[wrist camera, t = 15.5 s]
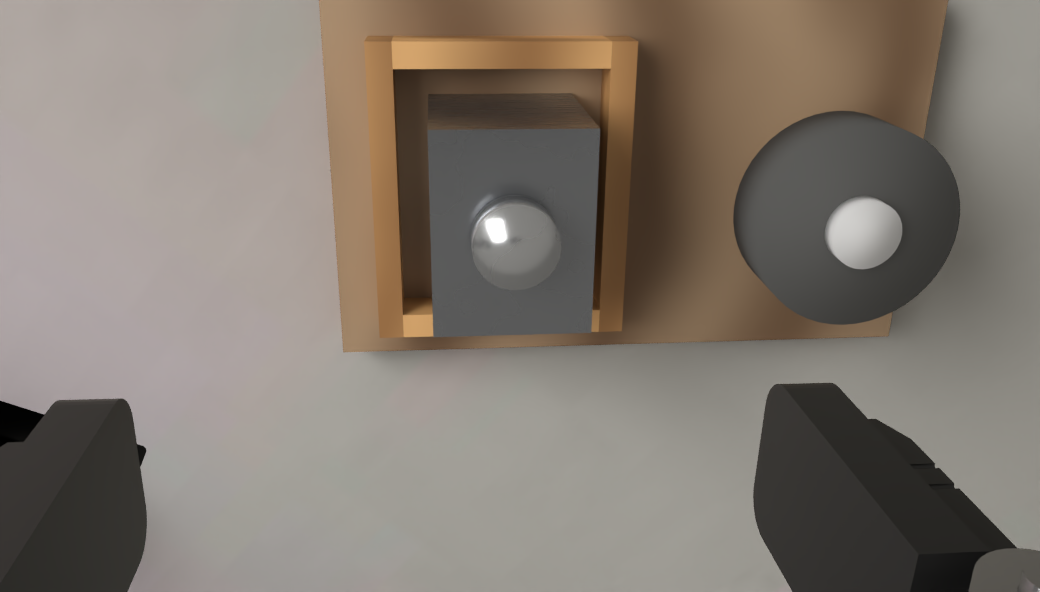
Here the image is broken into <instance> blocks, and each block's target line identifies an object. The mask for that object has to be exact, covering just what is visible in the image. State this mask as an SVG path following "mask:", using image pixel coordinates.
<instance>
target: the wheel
mask: <svg viewBox="0 0 1040 592" xmlns="http://www.w3.org/2000/svg"><path fill="white" fill-rule="evenodd" d="M959 217H960V200H959V192H958V187H957V184H956V181H955V177H954V175H953V173H952V171H951V169H950V167H949V165H948V163H947V162H946V161H945V159H944V158H943V156H942V155H941V154H940V153H939V152H938V151H937V150H936V149H935V148H934V147H933V146H932V145H931V144H929V143H928V142H927V141H926V140H924V139H922V138H921V137H919V136H917V135H915V134H913V133H911V132H909V131H906V130H904V129H902V128H900V127H897V126H895V125H893V124H890V123H888V122H886V121H883V120H881V119H879V118H876V117H874V116H871V115H868V114H865V113H860V112H855V111H830V112H825V113H820V114H815V115H813V116H810V117H807V118H804V119H802V120H800V121H798V122H795V123H793V124H791V125H790V126H788V127H787V128H785V129H784V130H782V131H780V132H779V133H778V134H777V135H775V136H774V137H773V138H772V139H771V140H769V141H768V142H767V143H766V144H765V145H764V147H763V148H762V149H761V150H760V151H759V152H758V153H757V155H756V156H755V157H754V159H753V160H752V161H751V163H750V165H749V166H748V168H747V170H746V171H745V173H744V175H743V178H742V180H741V182H740V184H739V188H738V191H737V194H736V198H735V204H734V214H733V224H734V233H735V237H736V241H737V245H738V248H739V250H740V252H741V255H742V257H743V258H744V260H745V262H746V263H747V265H748V266H749V267H750V269H751V270H752V271H753V272H754V273H755V275H756V276H757V277H758V278H759V279H760V280H761V281H762V282H763V283H764V284H765V285H766V286H767V288H768V289H769V290H770V291H771V292H772V293H773V294H774V295H775V296H776V297H777V298H778V299H779V300H780V301H781V302H782V303H783V304H784V305H785V306H786V307H787V308H789V309H790V310H792V311H793V312H795V313H797V314H798V315H801V316H803V317H805V318H807V319H810V320H813V321H816V322H820V323H826V324H836V325H847V324H857V323H862V322H866V321H870V320H873V319H876V318H879V317H882V316H884V315H887V314H889V313H891V312H893V311H895V310H897V309H898V308H900V307H902V306H903V305H905V304H906V303H908V302H909V301H910V300H912V299H913V298H914V297H916V296H917V295H918V294H919V293H920V292H921V291H922V290H923V289H924V288H925V287H927V285H928V284H929V283H930V282H931V281H932V280H933V278H934V277H935V276H936V275H937V273H938V272H939V270H940V269H941V267H942V266H943V264H944V263H945V261H946V259H947V257H948V255H949V253H950V251H951V248H952V246H953V243H954V241H955V237H956V234H957V230H958V224H959Z"/></svg>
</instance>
